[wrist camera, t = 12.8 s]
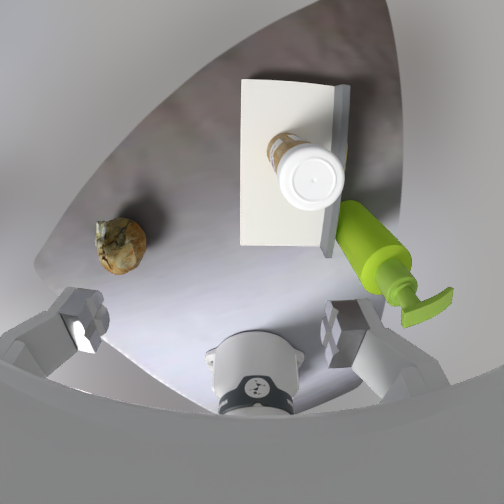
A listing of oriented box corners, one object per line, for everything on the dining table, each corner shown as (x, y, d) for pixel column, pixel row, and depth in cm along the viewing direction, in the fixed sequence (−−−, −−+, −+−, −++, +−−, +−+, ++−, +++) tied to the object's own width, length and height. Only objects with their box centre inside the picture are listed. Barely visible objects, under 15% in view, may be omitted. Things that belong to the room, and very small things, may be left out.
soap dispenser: (376, 229, 37) (451, 321, 19) (333, 244, 38) (388, 350, 20) (369, 192, 34) (459, 272, 17) (323, 207, 35) (387, 304, 18)
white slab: (322, 236, 37) (334, 257, 32) (240, 235, 37) (239, 257, 32) (335, 89, 28) (353, 85, 22) (242, 82, 27) (240, 75, 22)
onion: (98, 238, 37) (72, 265, 30) (120, 198, 34) (93, 221, 27) (135, 267, 39) (116, 299, 32) (161, 231, 37) (143, 260, 30)
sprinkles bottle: (258, 146, 29) (265, 170, 17) (292, 124, 27) (325, 133, 16) (280, 178, 30) (302, 225, 19) (314, 158, 29) (357, 191, 17)
